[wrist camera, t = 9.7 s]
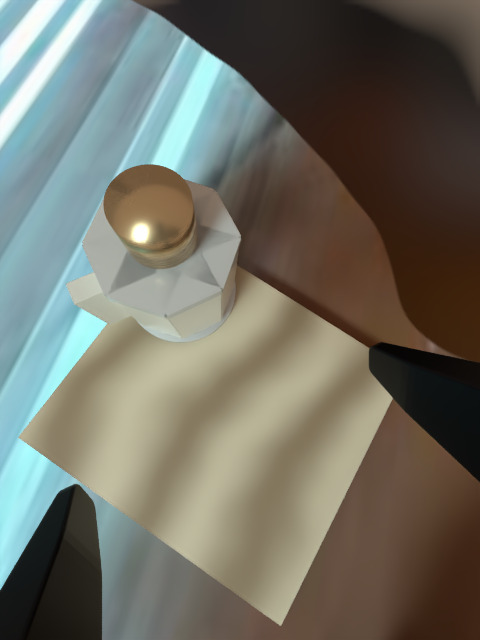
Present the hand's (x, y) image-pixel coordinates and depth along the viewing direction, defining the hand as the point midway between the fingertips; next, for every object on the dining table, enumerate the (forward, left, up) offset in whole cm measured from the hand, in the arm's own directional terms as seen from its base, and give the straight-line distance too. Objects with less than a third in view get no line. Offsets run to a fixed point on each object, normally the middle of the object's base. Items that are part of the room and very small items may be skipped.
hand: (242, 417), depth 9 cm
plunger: (+7, -5, -11) cm, 14 cm away
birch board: (0, 0, -13) cm, 13 cm away
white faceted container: (+8, -4, -12) cm, 15 cm away
